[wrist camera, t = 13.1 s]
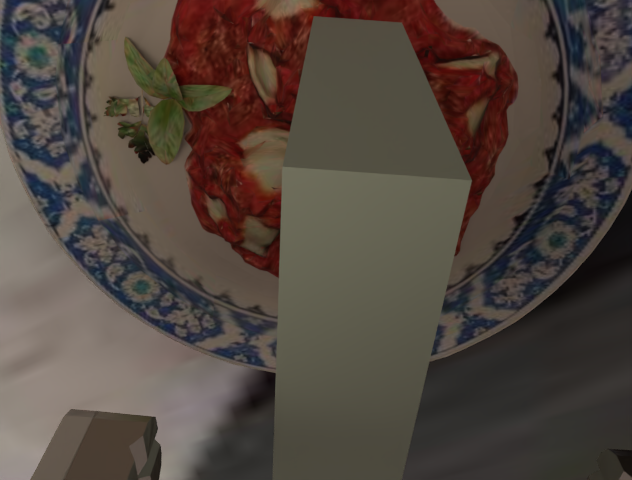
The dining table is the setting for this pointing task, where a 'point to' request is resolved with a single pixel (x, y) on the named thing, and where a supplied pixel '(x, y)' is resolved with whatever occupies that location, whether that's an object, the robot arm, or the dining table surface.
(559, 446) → the dining table surface
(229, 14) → the ceramic plate
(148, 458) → the robot arm
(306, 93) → the grey-green rectangular block
